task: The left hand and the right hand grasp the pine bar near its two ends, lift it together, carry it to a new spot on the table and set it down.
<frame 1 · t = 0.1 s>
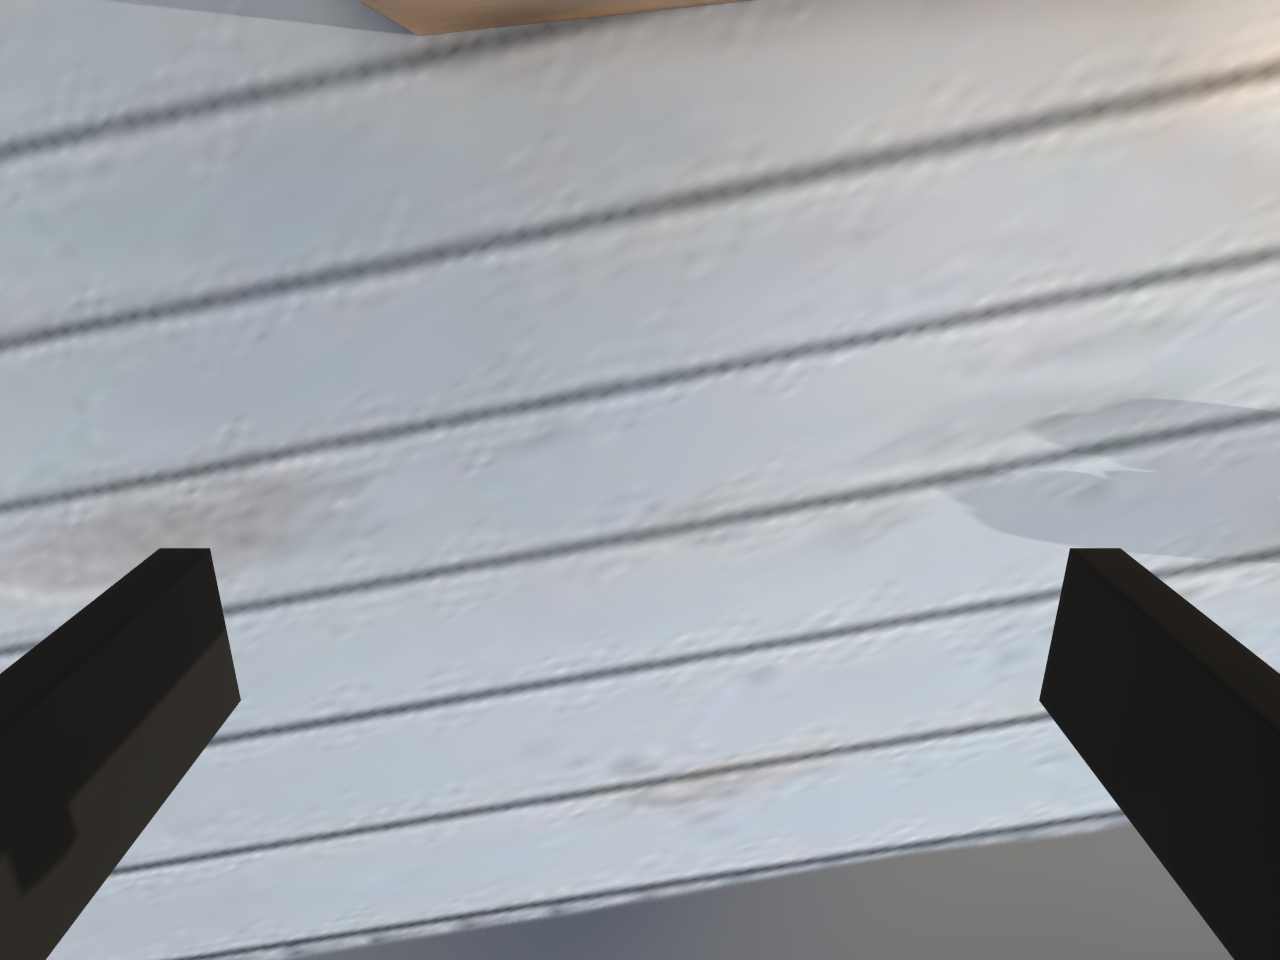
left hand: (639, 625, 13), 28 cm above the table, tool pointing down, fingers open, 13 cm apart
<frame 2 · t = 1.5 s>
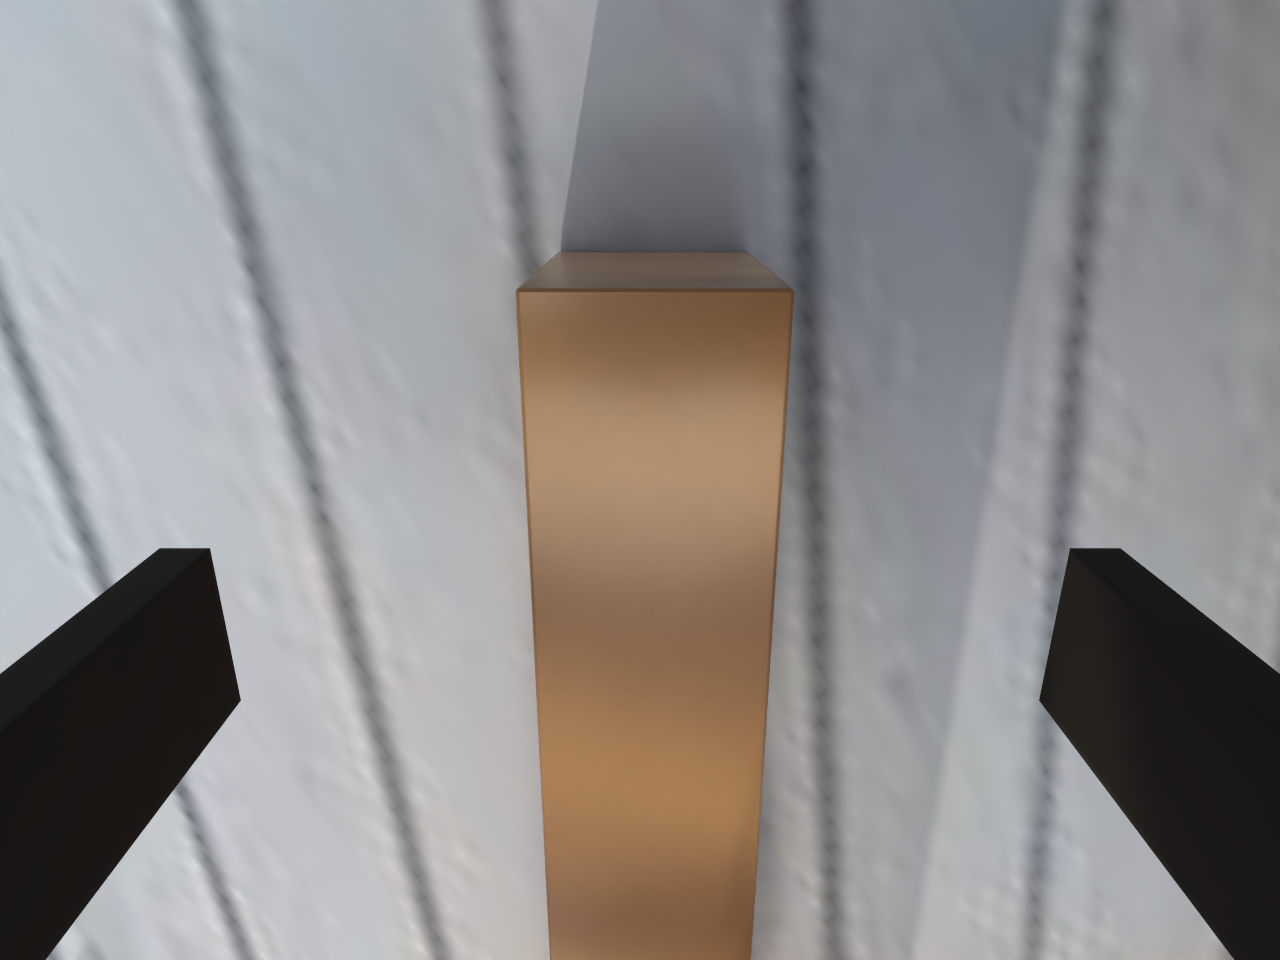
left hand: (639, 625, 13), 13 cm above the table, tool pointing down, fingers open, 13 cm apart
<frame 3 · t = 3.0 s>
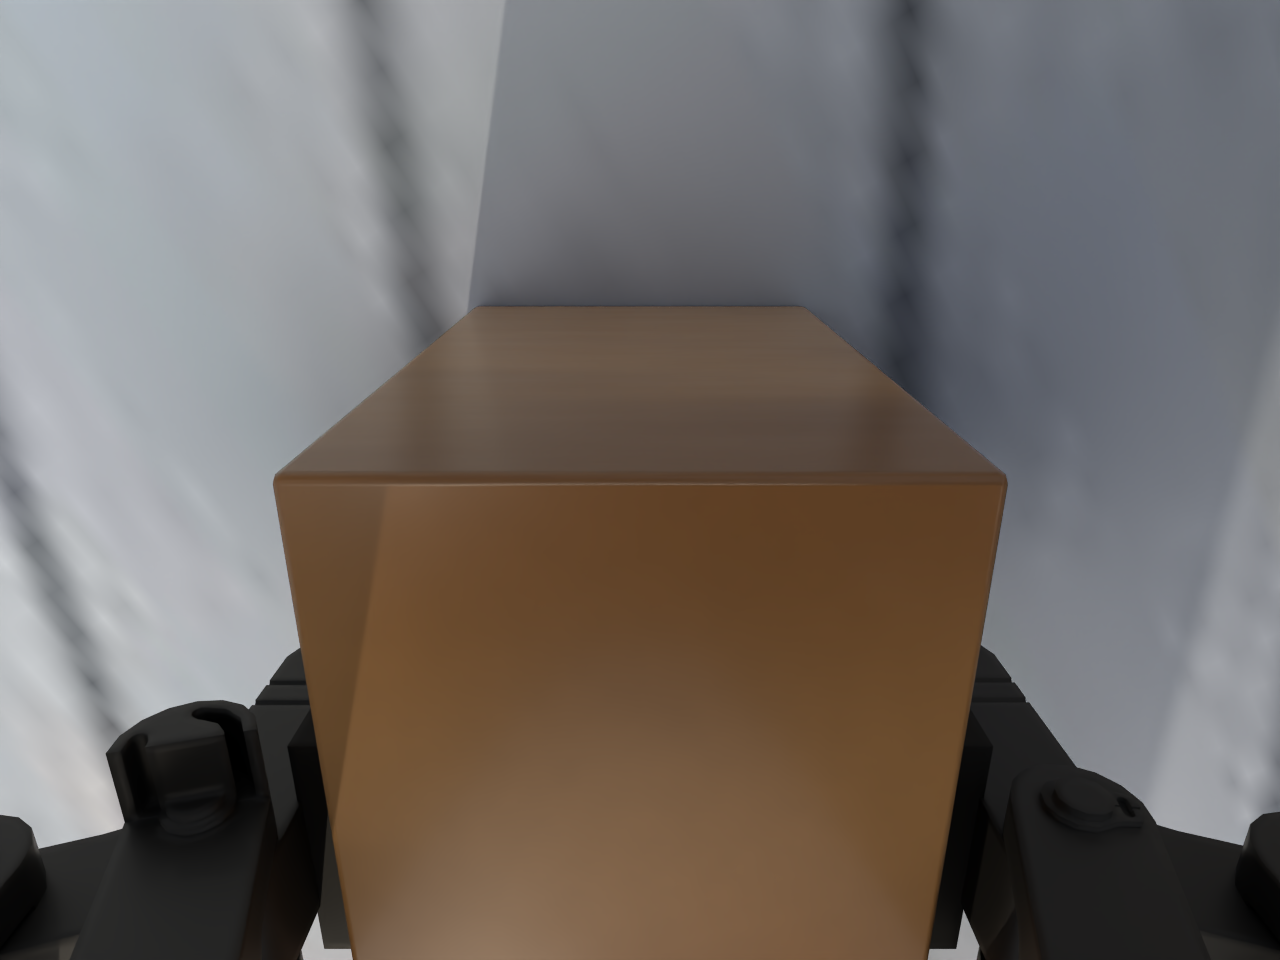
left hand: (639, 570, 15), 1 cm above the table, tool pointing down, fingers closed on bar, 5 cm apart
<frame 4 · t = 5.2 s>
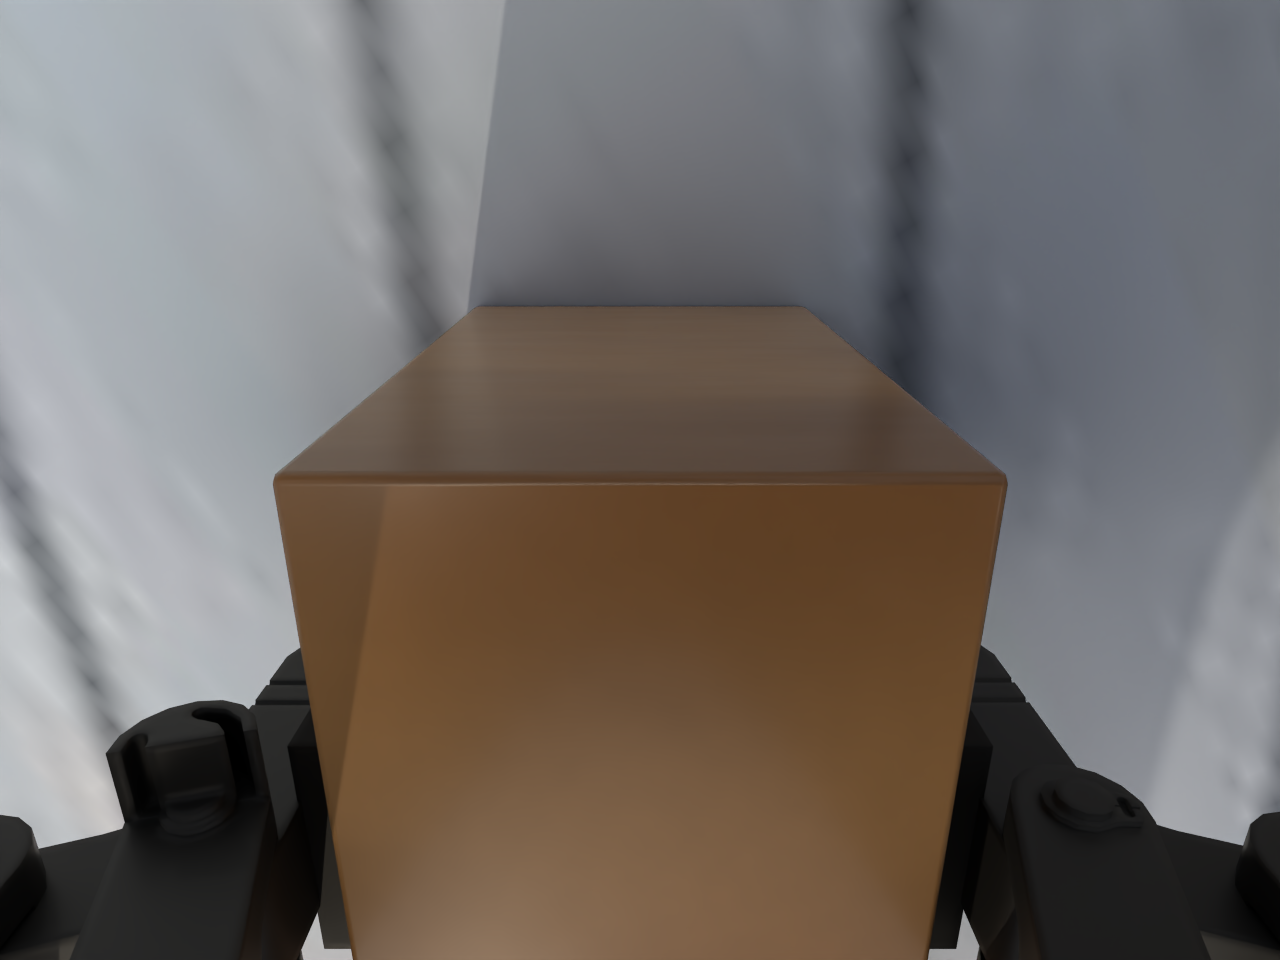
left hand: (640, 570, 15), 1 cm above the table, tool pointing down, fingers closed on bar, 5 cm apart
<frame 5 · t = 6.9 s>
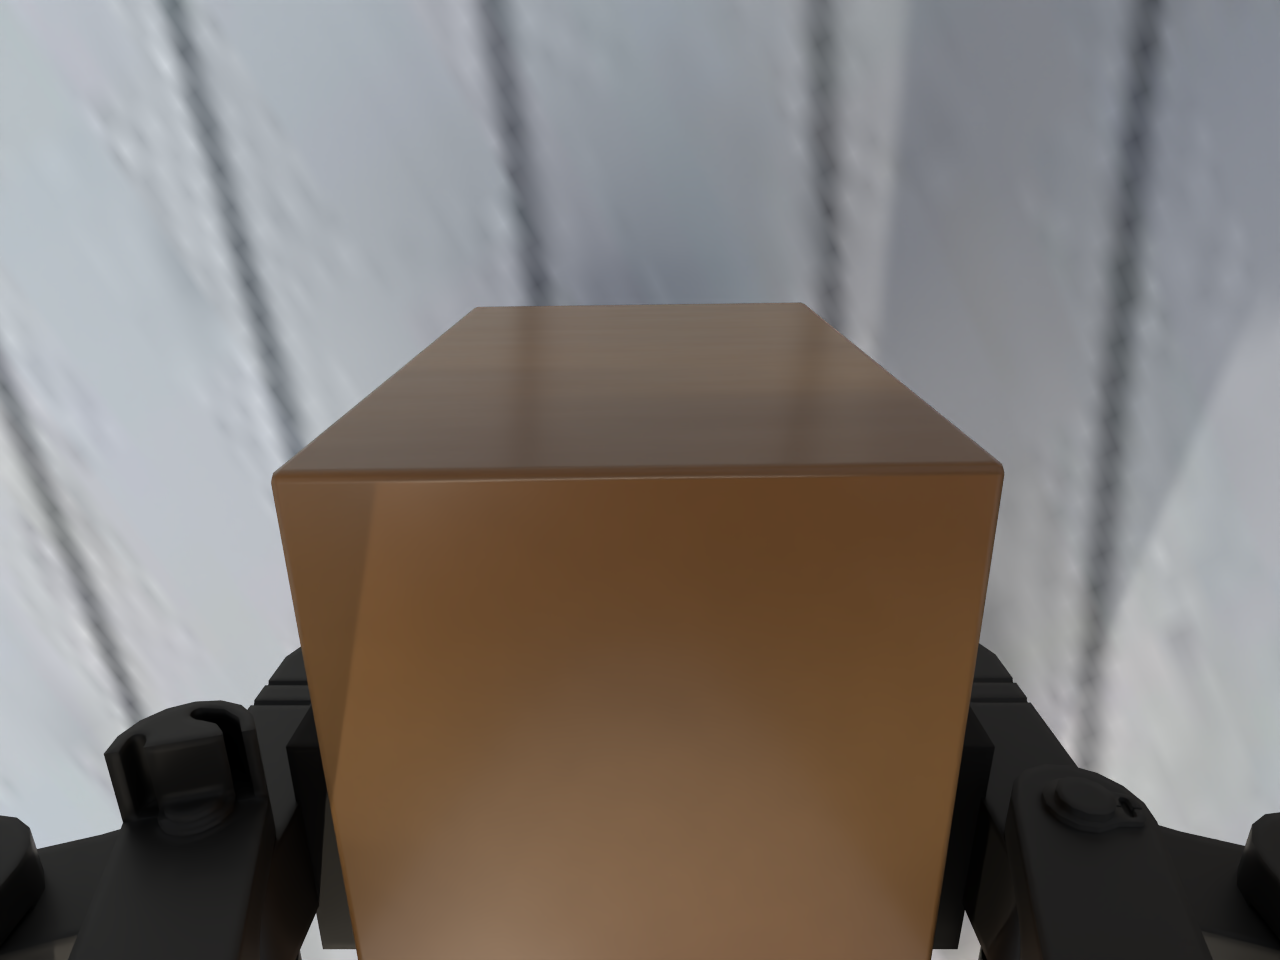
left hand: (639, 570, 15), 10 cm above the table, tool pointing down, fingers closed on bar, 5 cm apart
when the left hand's fingers open (2 cm above the table, at t = 8.6 s): bar drops 1 cm, on the table.
when the right hand's fingers open (2 cm above the table, at t = 8.6 s): bar drops 1 cm, on the table.
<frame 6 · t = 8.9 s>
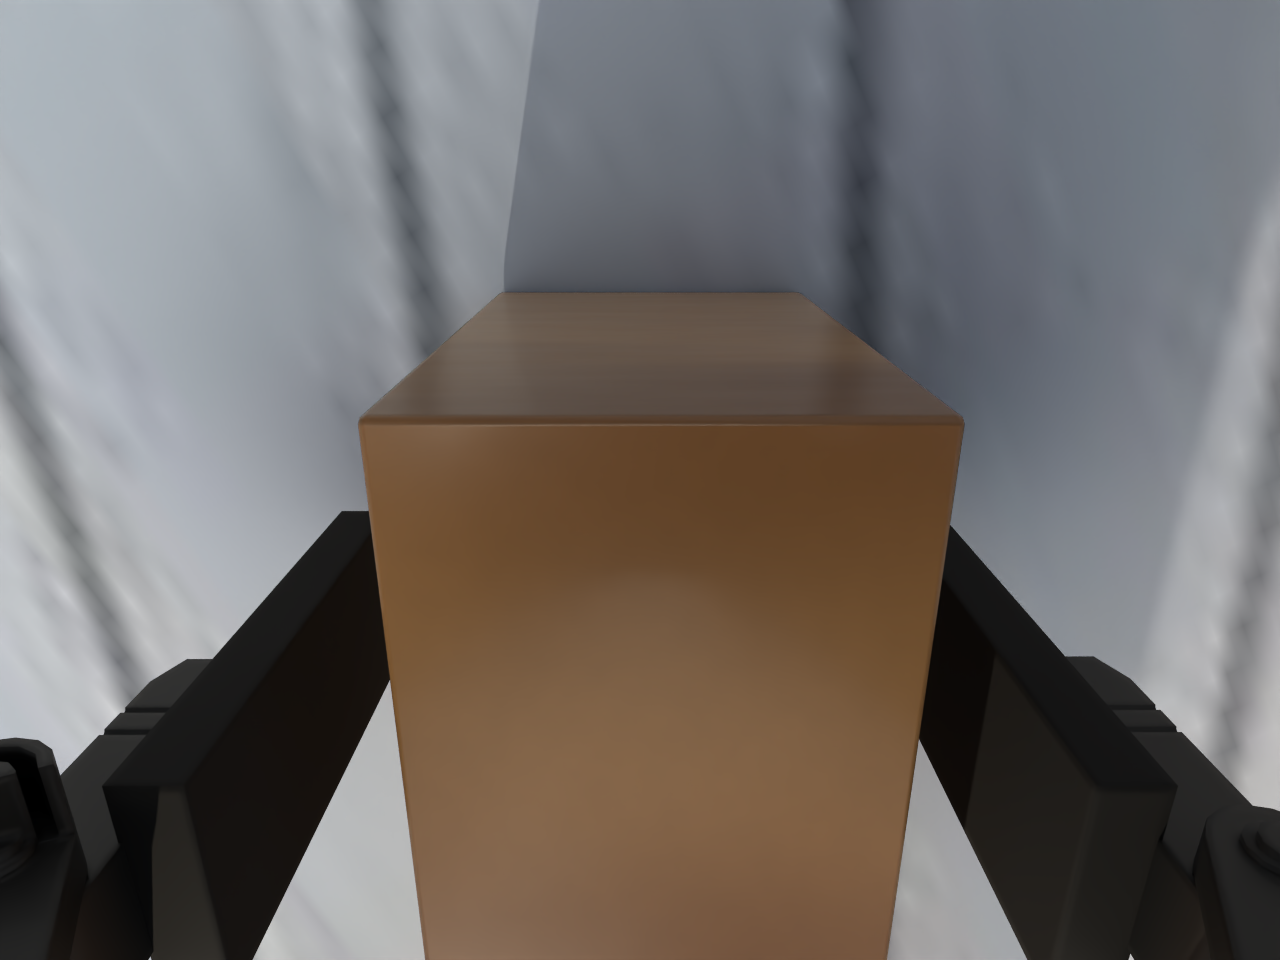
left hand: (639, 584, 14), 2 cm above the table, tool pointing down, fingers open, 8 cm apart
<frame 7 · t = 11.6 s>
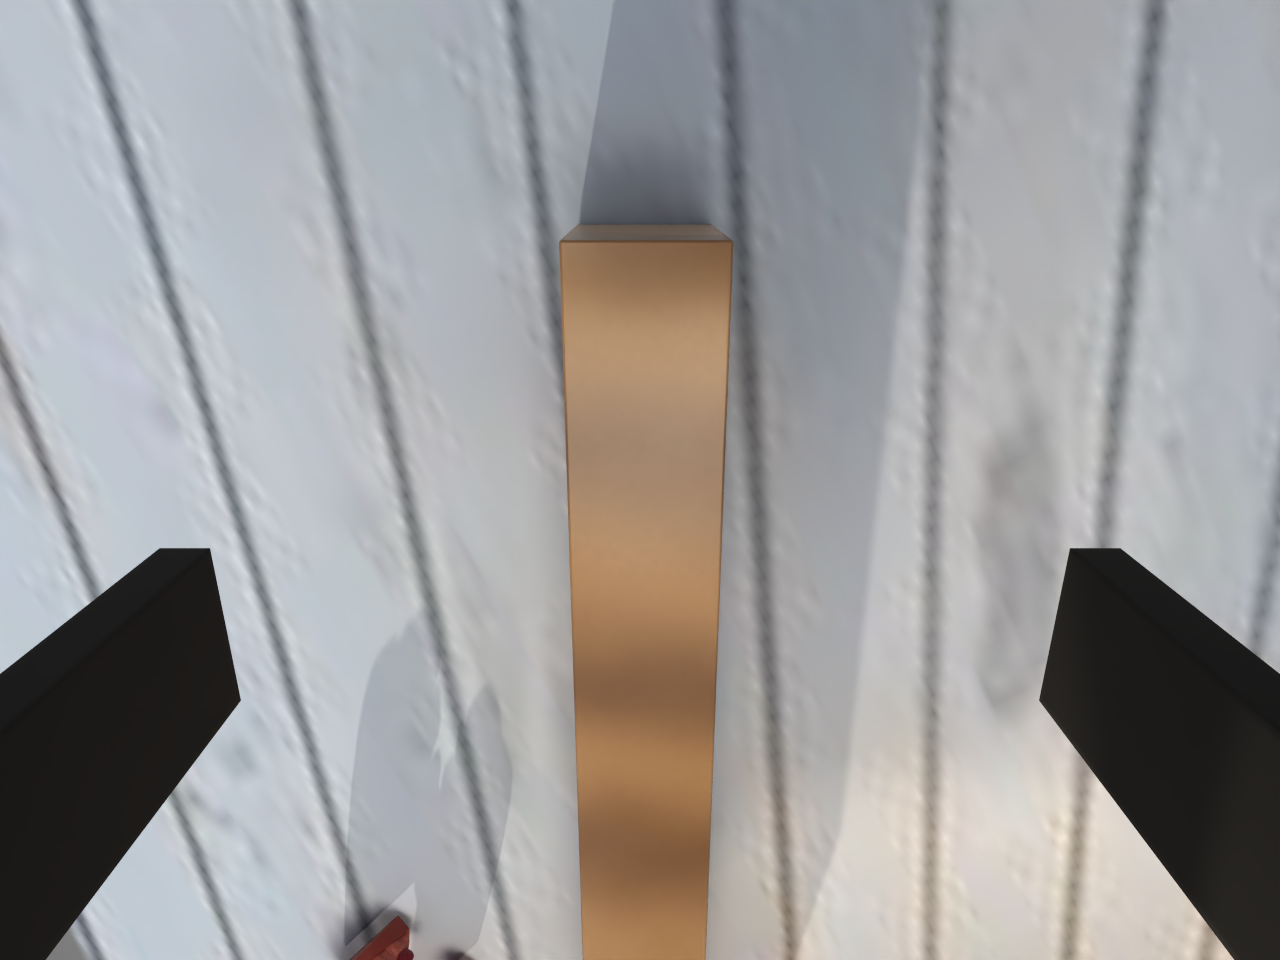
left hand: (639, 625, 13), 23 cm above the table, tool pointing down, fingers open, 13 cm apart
bar: (643, 895, 46), on the table
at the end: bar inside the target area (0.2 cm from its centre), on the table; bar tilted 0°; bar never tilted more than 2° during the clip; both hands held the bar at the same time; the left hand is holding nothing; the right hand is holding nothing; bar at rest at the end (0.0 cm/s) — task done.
